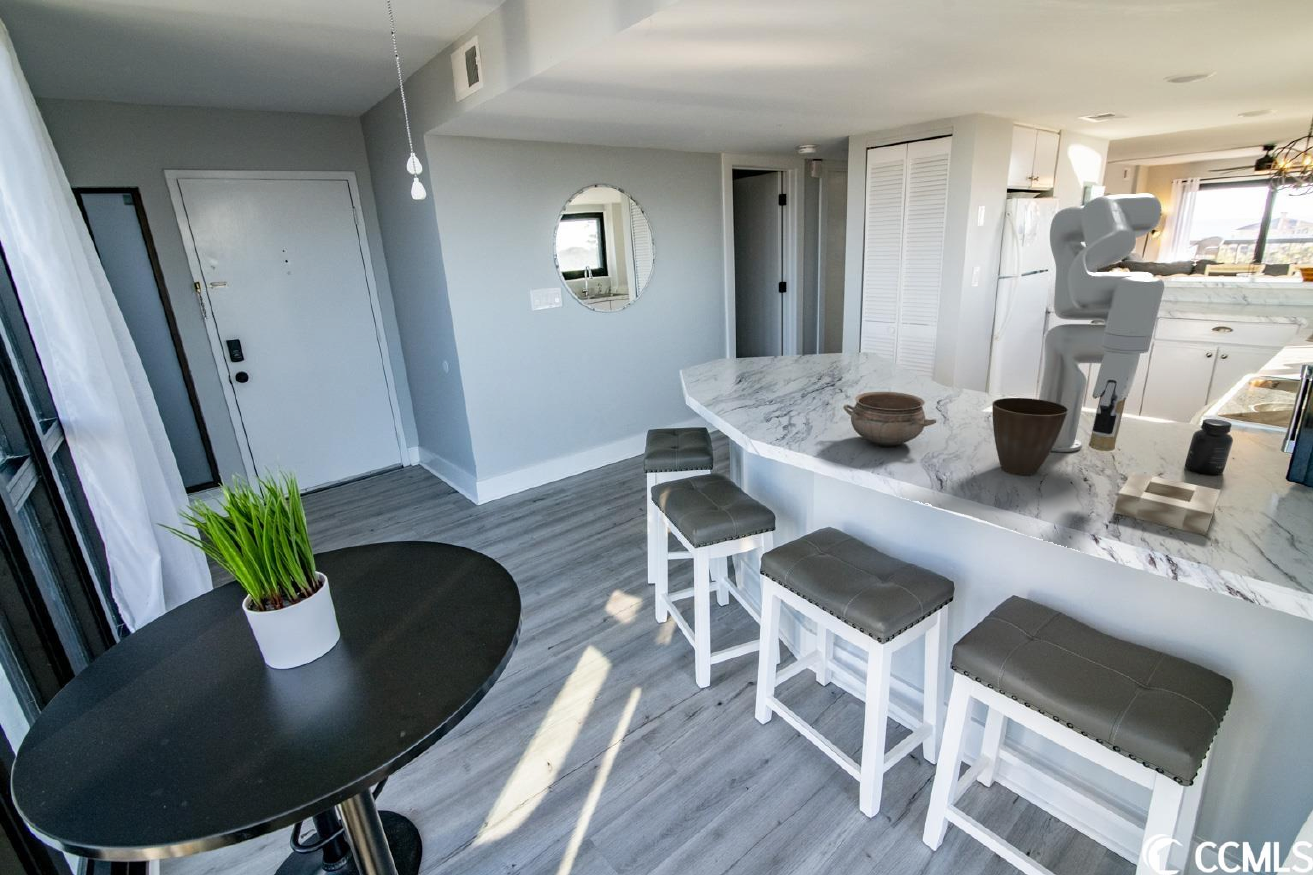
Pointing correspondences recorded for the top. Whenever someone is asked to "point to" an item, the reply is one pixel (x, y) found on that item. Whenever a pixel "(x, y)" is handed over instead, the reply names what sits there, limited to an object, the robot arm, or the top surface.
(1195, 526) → the socket block
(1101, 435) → the sprinkles bottle
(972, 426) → the top surface
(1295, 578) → the top surface
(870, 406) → the cooking pot
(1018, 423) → the plant pot
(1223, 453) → the supplement bottle
